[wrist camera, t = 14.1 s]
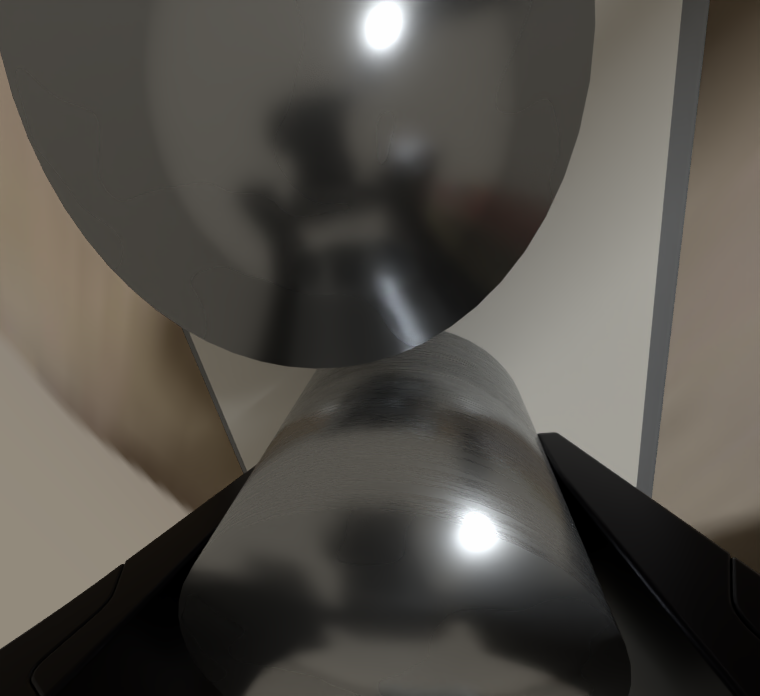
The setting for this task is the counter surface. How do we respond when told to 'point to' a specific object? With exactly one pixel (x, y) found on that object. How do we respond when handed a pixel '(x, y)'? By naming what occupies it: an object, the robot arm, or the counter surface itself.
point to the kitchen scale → (568, 263)
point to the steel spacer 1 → (304, 155)
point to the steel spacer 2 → (403, 548)
